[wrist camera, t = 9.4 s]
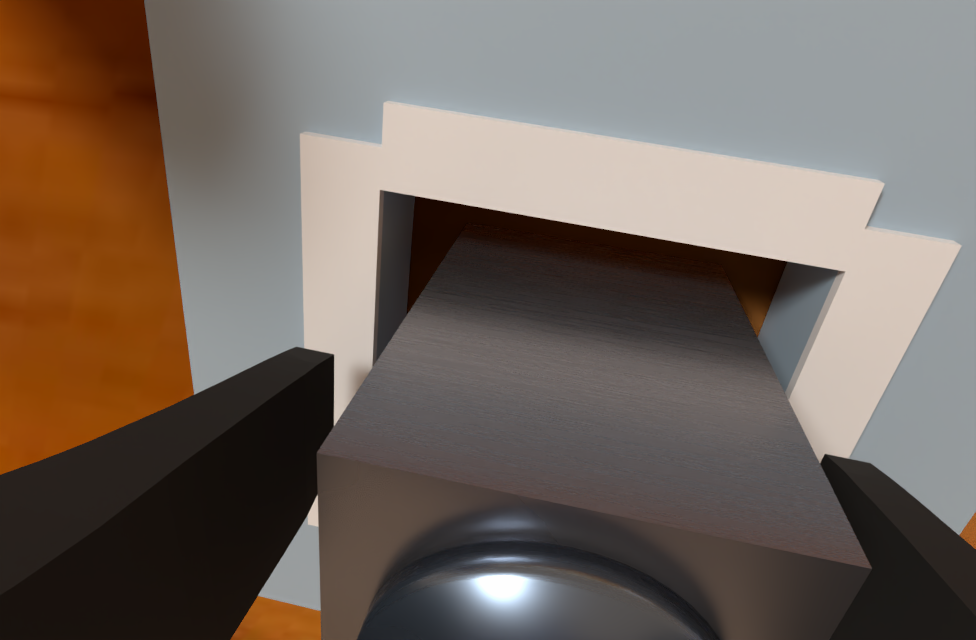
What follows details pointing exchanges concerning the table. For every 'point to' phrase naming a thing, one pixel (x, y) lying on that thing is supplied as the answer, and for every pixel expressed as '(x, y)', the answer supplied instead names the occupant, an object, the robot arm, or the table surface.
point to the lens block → (577, 463)
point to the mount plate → (592, 184)
